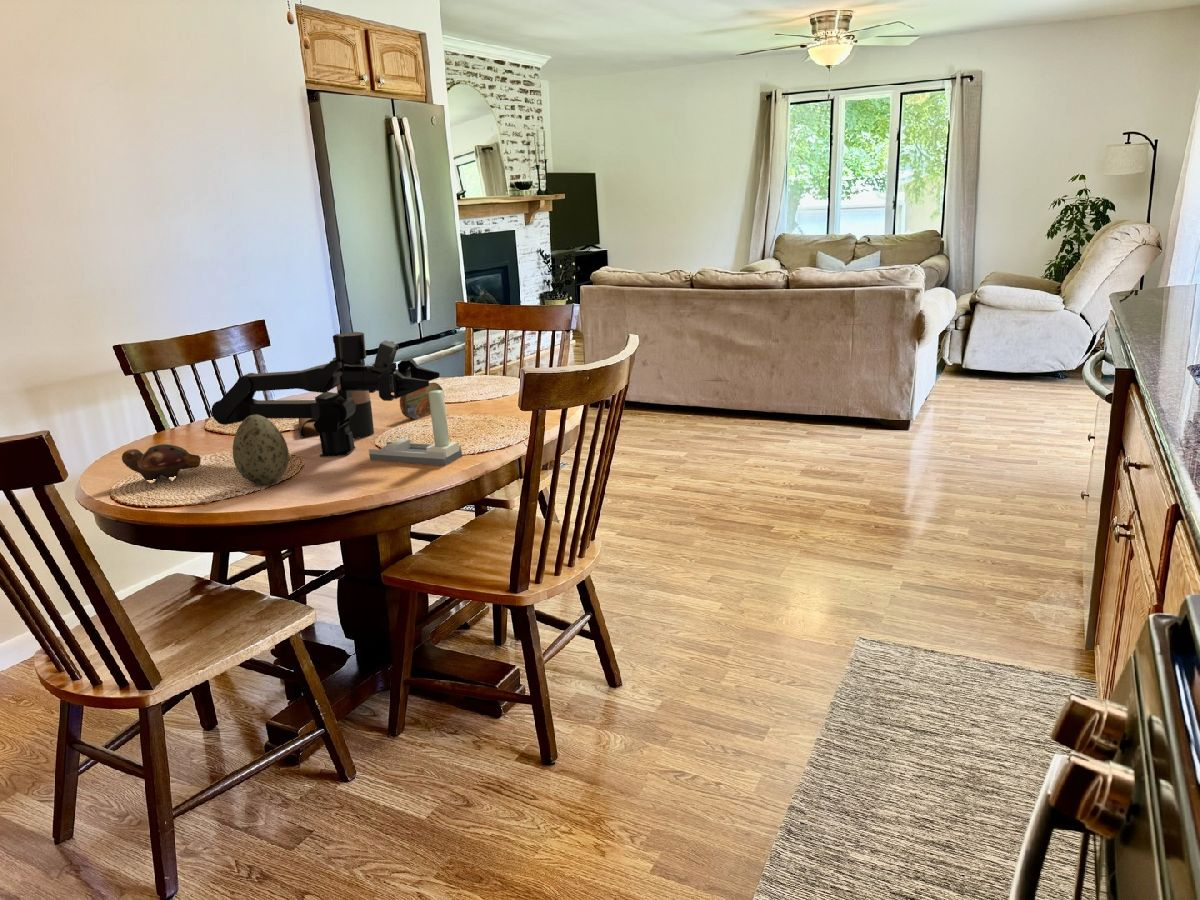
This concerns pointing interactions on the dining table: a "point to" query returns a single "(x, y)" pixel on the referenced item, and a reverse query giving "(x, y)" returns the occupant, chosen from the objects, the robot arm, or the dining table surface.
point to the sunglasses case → (307, 427)
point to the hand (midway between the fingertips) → (434, 379)
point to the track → (411, 453)
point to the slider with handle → (440, 426)
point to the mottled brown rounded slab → (418, 402)
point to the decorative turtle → (160, 461)
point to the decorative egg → (260, 450)
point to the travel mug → (361, 412)
